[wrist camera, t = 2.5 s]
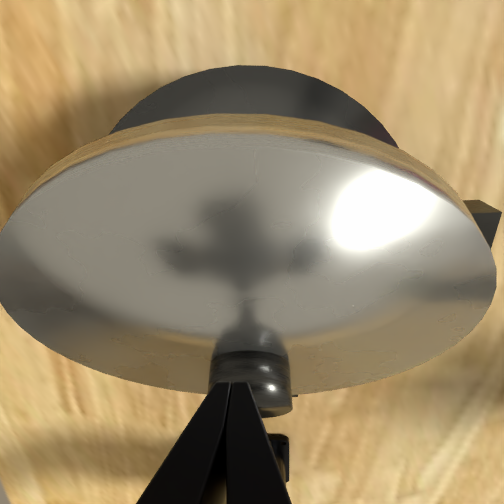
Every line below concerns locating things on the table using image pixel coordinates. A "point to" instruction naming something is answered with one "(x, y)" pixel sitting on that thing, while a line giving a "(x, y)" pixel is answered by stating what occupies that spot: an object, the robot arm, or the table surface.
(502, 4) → the table surface
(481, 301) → the lid
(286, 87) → the pot
